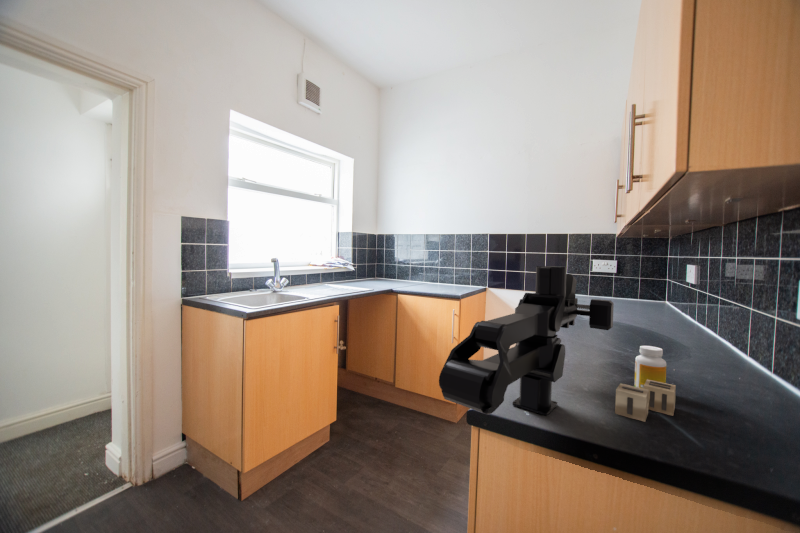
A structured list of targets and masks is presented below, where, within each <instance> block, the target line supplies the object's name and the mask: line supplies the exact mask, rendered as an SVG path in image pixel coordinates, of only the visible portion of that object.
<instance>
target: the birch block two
mask: <svg viewBox="0 0 800 533" xmlns="http://www.w3.org/2000/svg"><path fill="white" fill-rule="evenodd" d="M676 386H677V385H676V384H671V383H670V384H669V383H667V382H666V383H662V382H657V381H653V380H648V379H647V380H646V382H645V384H644V389H647V390H649V405H648V411H653V412H655V413H656V412H657V413H661V414H665V415H668V416H674V413H675V408H676V407H675V406H676V390H677V389H676Z"/></svg>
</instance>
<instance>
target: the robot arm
mask: <svg viewBox="0 0 800 533" xmlns="http://www.w3.org/2000/svg"><path fill="white" fill-rule="evenodd" d="M577 284H578V282H577V279H576V278H575V277H574V275H573V274H570V273H567V266H556V265H555V266H550V265H548V266H547V265H544V266H542V265H536V266H535V292H525V293H524V295H523V296H522V298H521V299H519V302H518V304H517V306H516V307H515V308H514V313H510V314H507V315H503V316H499V317H496V318H492V319H489V320H481V321H476V322H475V323H474V325H473V327H472V329H471V330H470V333H469V335H467V337H465V338H464V339H463V340H462V341H460V342H459V343H457V345H455V346H454V347H453V348H452V349H451V350H450V352H449V354H448V355H447V356H448V357H447V359H446V360H445V362H444V365H443V367H442V368H441V370H440V374H439V377H438V386H439V388H440V389H441V394H442V397H443V398H444V400H446V401H449V402H451V403H454V404H458V405H461V406H463V407H465V408H468V409H471V410H475V411H476V412H479V413H482V414H485V415H491V414H492V413H494V412H495V411H496V410H498V408H499V407H500V406H501V405H502V404H503V403H504V402H505V395H506V392H507V389H508V386H509V385H512V384H513V383H515V382H516V381H518V380H519V396H518V398H515V399H514V400H513V401H512V405H513V406H514V407H517V408H521V409H523V410H527V411H531V412H533V413H537V414H539V415H542V416H548V415H549V414H550V413H551V412H552V411H553V410H554V409H555V408H556V407H557V406H558V402H557V401H555V400H552V391H553V390H552V387H553V386H552V385H553V383H557V381H558V380H560V379H561V378H562V377H563V374H564V366H565V359H566V346H565V344H563V343H562V339H561V338H560V337H558V334H557V333H558V332H559V331H560V329H564V328H565V329H569V328H570V326H575V320H576V318H577V317H578V316H583V317H584V316H586V317H589V320H588V321H589V322H588V325H589V328H590V329H596V330H603V331H609V330H611V329H612V328H614V306H615V305H614V302H613V301H612V299H611V300H610V299H609V300H608V299H598V298H595V299H594V298H592V299H590V303H589V304H579V303H578V302H579V301H578V297H576V289H577ZM512 345H513V346H512ZM511 346H512V347H511ZM481 348H485V349H489V350H493V351H497V353H496V354H494V355H491V356H489V357H487V358H484V359H482V360H481V359H479V360H478V359H471V358H472V357H473V356H474V355H475V354H476V353H478V352H479V351H480V350H481Z"/></svg>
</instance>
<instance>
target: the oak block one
mask: <svg viewBox="0 0 800 533" xmlns="http://www.w3.org/2000/svg"><path fill="white" fill-rule="evenodd" d="M614 404H615V406H614V407H615V408H614V414H616V415H619V416H621V417H622V416H623V417H626V418H629V419H633V420H637V421H640V422H644V423H646V420H647V417H648V415H649V410H648V405H649V390H647V389H643V388H639V387H634V385H629V384H625V383H621V382H620V383H619V385H618V386H617V387H616V389H615V403H614Z"/></svg>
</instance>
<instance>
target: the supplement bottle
mask: <svg viewBox="0 0 800 533" xmlns="http://www.w3.org/2000/svg"><path fill="white" fill-rule="evenodd" d="M638 351H639V354H638V355H636V357H635V359H634V381H633V382H634V383H633V384H634V385H633V386H634V387H639V388H643V389H644V384H645V382H646V380H647V379H648V380H653V381H657V382H662V383H667V361H666V360H665V359H663V358H662V357H663V355H664V350H663V348H661V347H657V346H654V345H653V346H652V345H640V346H639V350H638Z"/></svg>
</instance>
